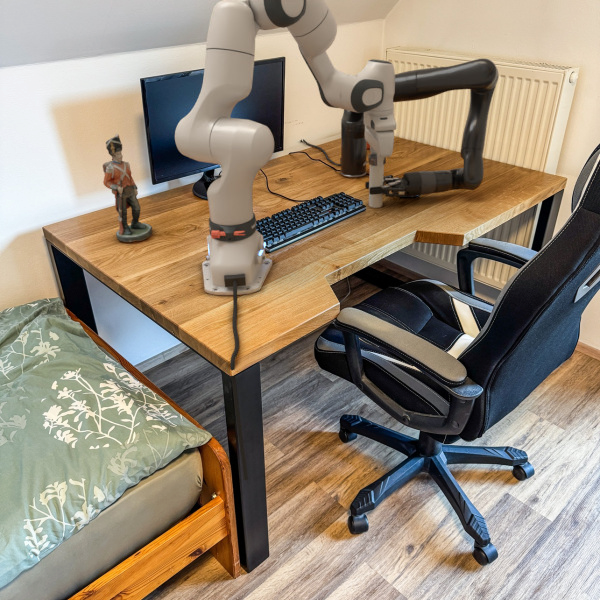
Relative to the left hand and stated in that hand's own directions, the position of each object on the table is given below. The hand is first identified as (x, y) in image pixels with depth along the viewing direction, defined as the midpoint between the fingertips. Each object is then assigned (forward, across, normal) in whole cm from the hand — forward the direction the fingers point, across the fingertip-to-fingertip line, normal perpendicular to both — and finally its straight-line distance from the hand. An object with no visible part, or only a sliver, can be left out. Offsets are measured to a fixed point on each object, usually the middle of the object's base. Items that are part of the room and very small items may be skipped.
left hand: (376, 162), depth 175 cm
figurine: (+14, +7, -76) cm, 78 cm away
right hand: (+8, 0, -3) cm, 8 cm away
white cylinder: (+14, 0, 0) cm, 14 cm away
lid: (-2, 0, 0) cm, 2 cm away
